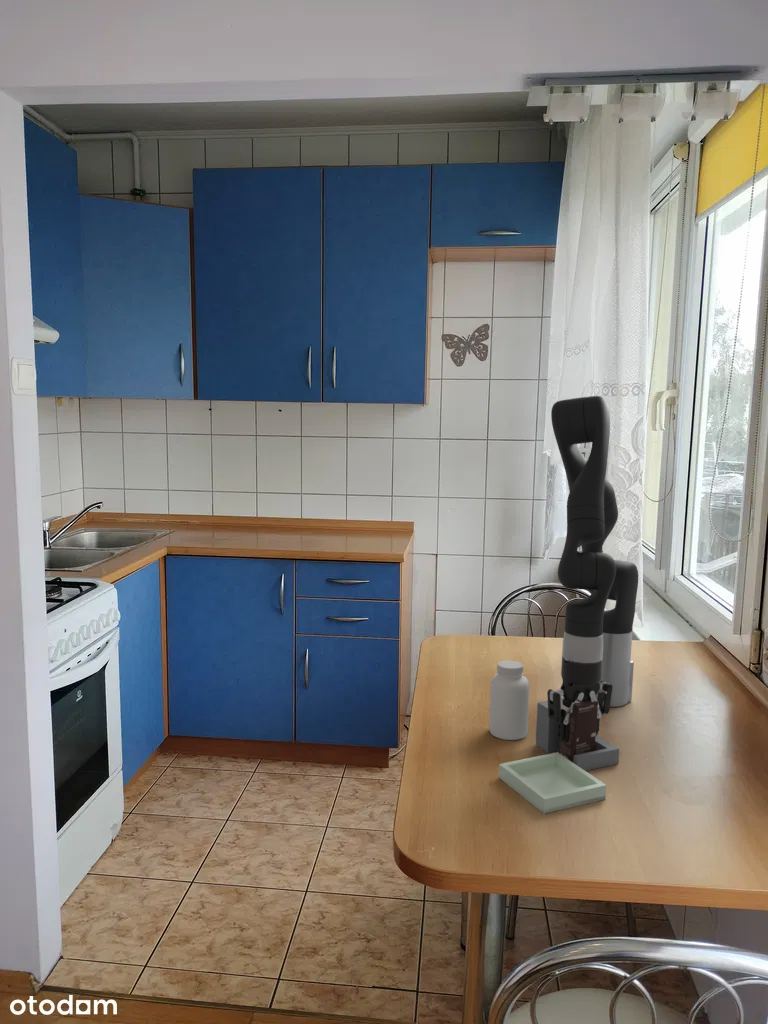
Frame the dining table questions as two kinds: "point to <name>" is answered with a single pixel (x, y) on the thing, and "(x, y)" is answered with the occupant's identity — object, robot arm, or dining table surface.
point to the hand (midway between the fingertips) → (577, 737)
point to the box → (580, 729)
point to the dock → (587, 761)
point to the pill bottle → (509, 702)
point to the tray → (552, 782)
